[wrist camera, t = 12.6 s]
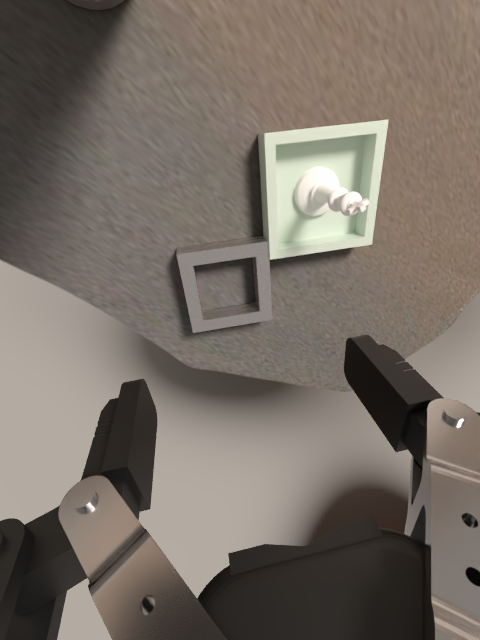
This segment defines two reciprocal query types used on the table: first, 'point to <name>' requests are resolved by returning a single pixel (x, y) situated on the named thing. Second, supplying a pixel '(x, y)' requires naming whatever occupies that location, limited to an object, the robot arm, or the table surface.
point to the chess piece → (326, 194)
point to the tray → (340, 157)
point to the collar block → (219, 253)
